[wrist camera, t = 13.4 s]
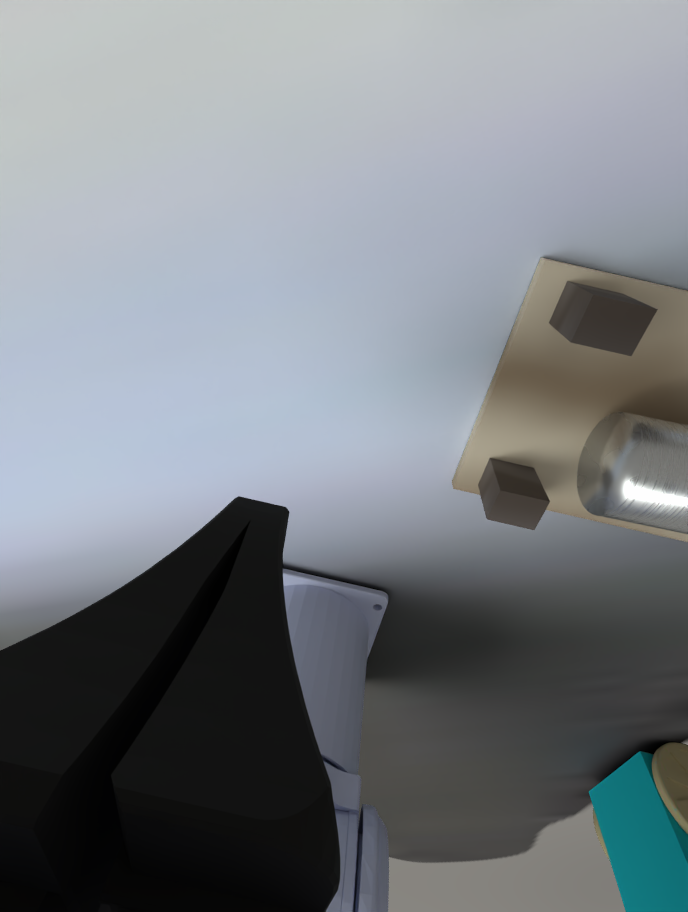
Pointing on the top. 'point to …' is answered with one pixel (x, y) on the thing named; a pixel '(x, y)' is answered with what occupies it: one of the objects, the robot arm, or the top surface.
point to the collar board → (573, 388)
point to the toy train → (647, 828)
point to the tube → (636, 471)
